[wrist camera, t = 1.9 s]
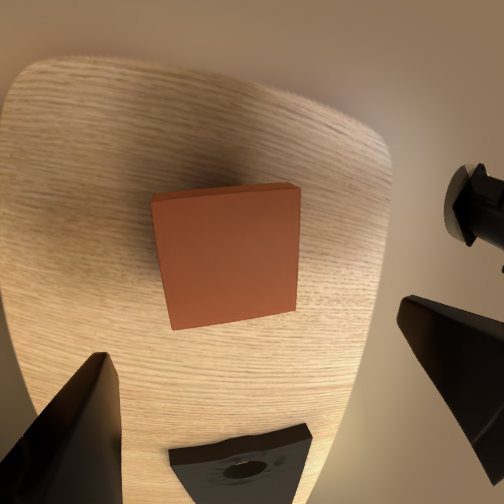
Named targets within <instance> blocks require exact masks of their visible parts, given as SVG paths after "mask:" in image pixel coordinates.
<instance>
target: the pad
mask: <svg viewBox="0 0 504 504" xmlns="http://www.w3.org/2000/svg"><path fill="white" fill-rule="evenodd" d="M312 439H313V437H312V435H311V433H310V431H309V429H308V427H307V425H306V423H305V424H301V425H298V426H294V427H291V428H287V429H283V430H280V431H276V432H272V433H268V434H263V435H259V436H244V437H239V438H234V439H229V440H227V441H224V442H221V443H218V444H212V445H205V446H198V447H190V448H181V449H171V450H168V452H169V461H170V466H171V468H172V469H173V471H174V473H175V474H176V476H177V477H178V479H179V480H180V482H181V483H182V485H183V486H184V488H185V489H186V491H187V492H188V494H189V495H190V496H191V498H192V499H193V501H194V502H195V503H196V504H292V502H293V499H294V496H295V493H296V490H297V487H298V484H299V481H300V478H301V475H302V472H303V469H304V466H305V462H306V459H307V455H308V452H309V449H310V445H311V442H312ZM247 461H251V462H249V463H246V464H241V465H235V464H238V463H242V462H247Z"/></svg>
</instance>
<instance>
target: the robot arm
mask: <svg viewBox="0 0 504 504" xmlns="http://www.w3.org/2000/svg"><path fill="white" fill-rule="evenodd" d="M452 209H453V212H454V214H455V217H456V219H457V222H458V224H459V227H460V230H461V232H462V235H463V238H464V241H465V243H466V245H467V246H468V247H471V246H472V245H473V243H474V242H475V240H476V238H477V237H479V238H481V239H483V240H484V241H487V242H488V243H490V244H492V245H494V246H496V247H498V248H500V249H502V250H503V251H504V181H503V180H500V179H497V178H494V177H490V176H488V175H487V172H486V169H485V166H484V164H481V163H479V164H478V166H477V167H476V169H475V171H474V172H473V174H472V175H471V177H470V179H469V180H468V182H467V183H466V185H465V187H464V188H463V190H462V191H461V193H460V194H459V196H458V197H457V199H456V200H455V202H454V203H453V206H452ZM502 273H504V266H503V268H502ZM397 324H398V326H399V328H400V329H401V331H402V333H403V335H404V337H405V338H406V340H407V342H408V344H409V345H410V347H411V349H412V351H413V353H414V354H415V356H416V358H417V359H418V361H419V362H420V364H421V365H422V367H423V368H424V370H425V371H426V373H427V374H428V376H429V377H430V379H431V381H432V382H433V384H434V385H435V387H436V388H437V390H438V391H439V393H440V394H441V396H442V397H443V399H444V401H445V402H446V404H447V405H448V407H449V409H450V410H451V412H452V413H453V415H454V417H455V418H456V420H457V422H458V423H459V425H460V426H461V428H462V430H463V432H464V433H465V435H466V437H467V439H468V440H469V442H470V444H471V446H472V448H473V449H474V451H475V453H476V455H477V457H478V459H479V460H480V462H481V464H482V466H483V468H484V470H485V472H486V474H487V476H488V478H489V480H490V481H491V483H492V485H493V486H495V485H496V484H497V483H499V482H500V481H501V480H502V479H504V323H503V322H500V321H497V320H494V319H490V318H487V317H484V316H481V315H477V314H474V313H471V312H467V311H464V310H461V309H458V308H455V307H451V306H448V305H445V304H442V303H438V302H435V301H431V300H429V299H425V298H422V297H419V296H415V295H410V296H406V297H404V298H403V299H402V300H401V303H400V307H399V311H398V314H397ZM121 440H122V426H121V413H120V397H119V379H118V374H117V372H116V369H115V367H114V365H113V362H112V360H111V358H110V355H109V354H108V353H107V352H96V353H93V354H92V355H91V356H90V357H89V358H88V359H87V360H86V361H85V363H84V364H83V365H82V366H81V367H80V368H79V369H78V370H77V372H76V373H75V374H74V375H73V376H72V377H71V378H70V379H69V381H68V382H67V383H66V384H65V385H64V386H63V388H62V389H61V390H60V391H59V392H58V393H57V395H56V396H55V397H54V398H53V399H52V400H51V402H50V403H49V404H48V405H47V406H46V408H45V409H44V410H43V411H42V412H41V414H40V415H39V416H38V417H37V418H36V420H35V421H34V422H33V423H32V425H31V426H30V427H29V428H28V429H27V431H26V432H25V433H24V435H23V437H21V438H20V439H19V441H18V442H17V443H16V444H15V446H14V447H13V448H12V449H11V451H10V452H9V453H8V454H7V455H6V457H5V458H4V459H3V460H2V461H1V462H0V504H123V500H122V474H121Z"/></svg>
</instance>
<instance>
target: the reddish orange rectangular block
mask: <svg viewBox="0 0 504 504" xmlns="http://www.w3.org/2000/svg"><path fill="white" fill-rule="evenodd" d="M300 199H301V188H299V187H297V186H295V185H293V184H291V183H288V182H285V183H267V184H252V185H239V186H227V187H215V188H205V189H195V190H186V191H177V192H168V193H160V194H153V196H152V199H151V202H150V203H151V211H152V219H153V226H154V233H155V240H156V247H157V253H158V259H159V265H160V271H161V277H162V282H163V288H164V293H165V298H166V303H167V308H168V313H169V318H170V322H171V327H172V330H173V331H174V330H181V329H189V328H196V327H203V326H210V325H216V324H223V323H229V322H235V321H241V320H247V319H253V318H259V317H264V316H270V315H275V314H280V313H286V312H291V311H295V310H296V298H297V280H298V260H299V235H300Z"/></svg>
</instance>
